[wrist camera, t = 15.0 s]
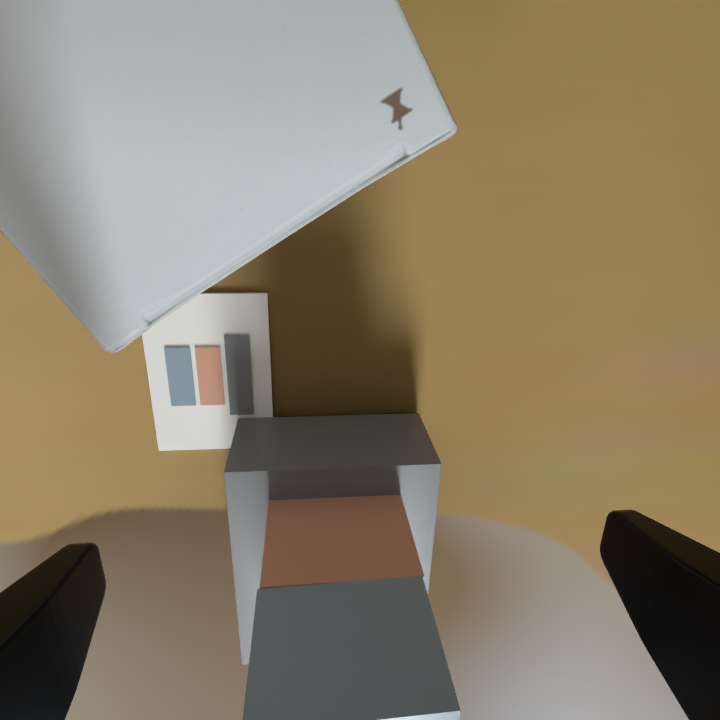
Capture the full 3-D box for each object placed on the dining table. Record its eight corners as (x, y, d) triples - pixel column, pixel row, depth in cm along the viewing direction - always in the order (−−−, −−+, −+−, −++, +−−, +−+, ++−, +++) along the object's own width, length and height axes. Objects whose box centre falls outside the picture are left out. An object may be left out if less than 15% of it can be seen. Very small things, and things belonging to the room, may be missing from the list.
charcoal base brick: (418, 413, 22) (441, 464, 18) (405, 580, 26) (422, 649, 22) (238, 418, 21) (224, 472, 17) (251, 590, 25) (242, 664, 21)
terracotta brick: (400, 494, 19) (424, 576, 15) (391, 625, 21) (409, 723, 18) (268, 500, 18) (259, 586, 14) (275, 634, 21) (269, 736, 17)
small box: (299, -6, 16) (292, -277, 6) (382, 151, 18) (474, 126, 8) (107, 129, 17) (-159, 69, 7) (207, 265, 19) (104, 362, 9)
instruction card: (267, 292, 20) (266, 294, 19) (274, 444, 22) (274, 447, 22) (138, 292, 19) (135, 294, 19) (160, 448, 22) (158, 452, 21)
